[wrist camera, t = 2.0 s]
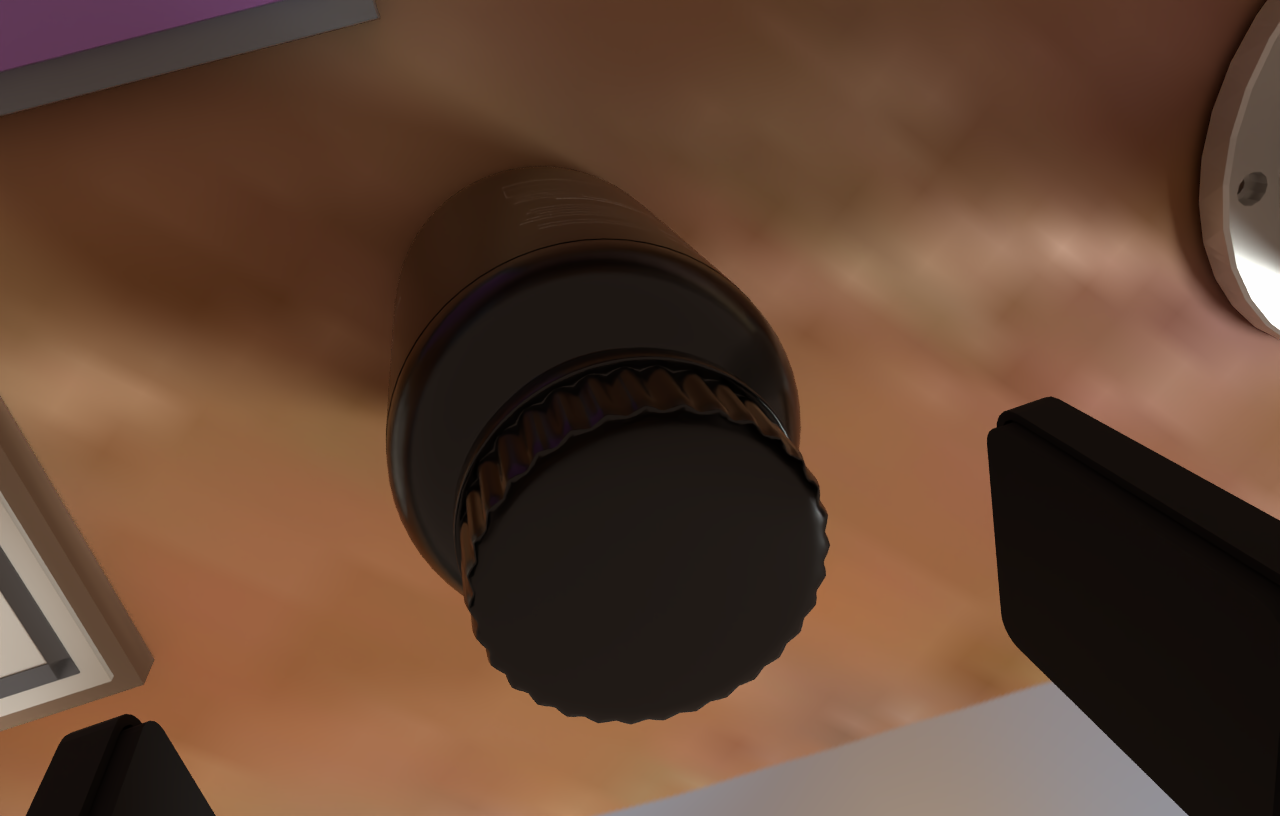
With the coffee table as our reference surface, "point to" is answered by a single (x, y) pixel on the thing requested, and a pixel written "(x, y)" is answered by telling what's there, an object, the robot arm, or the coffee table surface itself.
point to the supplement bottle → (598, 449)
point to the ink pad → (143, 39)
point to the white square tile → (54, 600)
